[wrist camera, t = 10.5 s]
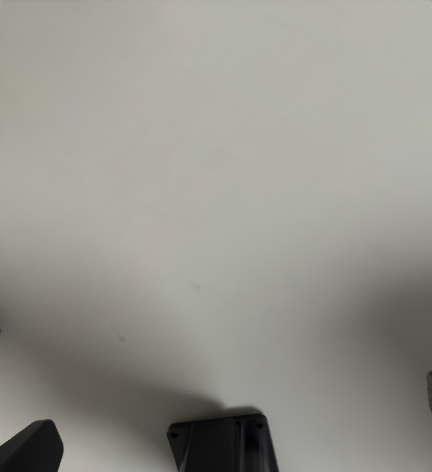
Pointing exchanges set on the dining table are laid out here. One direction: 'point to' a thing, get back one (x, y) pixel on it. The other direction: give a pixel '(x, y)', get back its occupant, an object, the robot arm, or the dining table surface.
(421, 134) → the dining table surface
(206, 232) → the dining table surface
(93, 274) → the dining table surface
